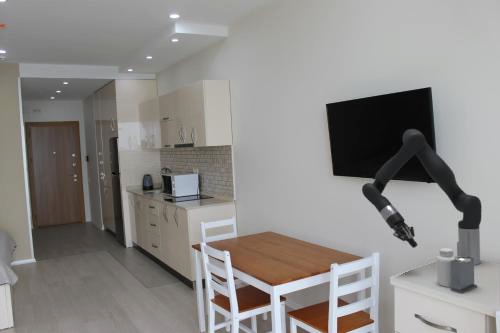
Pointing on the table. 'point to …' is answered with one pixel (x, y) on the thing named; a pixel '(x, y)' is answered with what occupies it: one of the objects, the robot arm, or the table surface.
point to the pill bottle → (444, 266)
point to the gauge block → (462, 274)
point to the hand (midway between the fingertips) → (415, 246)
